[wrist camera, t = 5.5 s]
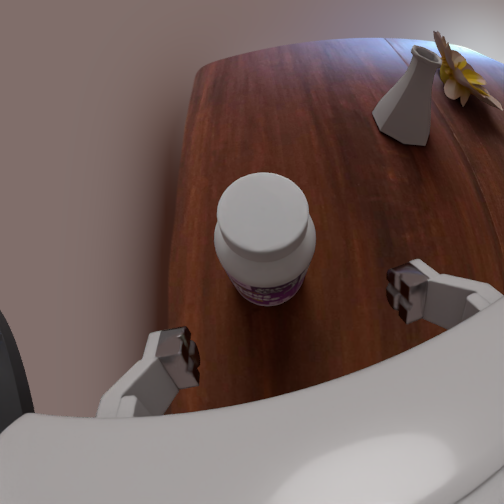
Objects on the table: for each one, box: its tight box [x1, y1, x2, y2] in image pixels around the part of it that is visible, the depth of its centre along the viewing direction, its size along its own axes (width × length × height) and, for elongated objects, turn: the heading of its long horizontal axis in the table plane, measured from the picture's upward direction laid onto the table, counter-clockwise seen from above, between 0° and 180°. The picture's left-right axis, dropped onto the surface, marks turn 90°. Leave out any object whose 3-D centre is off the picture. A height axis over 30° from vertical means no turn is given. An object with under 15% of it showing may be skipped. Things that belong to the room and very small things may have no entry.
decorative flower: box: [433, 31, 503, 111], centre depth 23 cm, size 15×11×10 cm
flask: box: [372, 45, 442, 146], centre depth 21 cm, size 7×7×10 cm
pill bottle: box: [214, 173, 316, 306], centre depth 16 cm, size 5×5×10 cm
